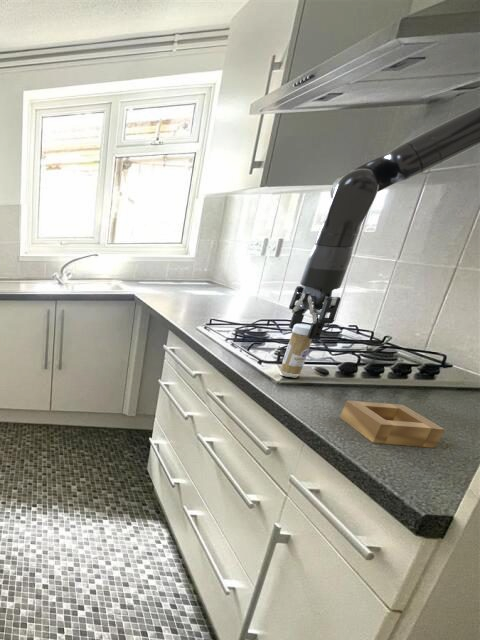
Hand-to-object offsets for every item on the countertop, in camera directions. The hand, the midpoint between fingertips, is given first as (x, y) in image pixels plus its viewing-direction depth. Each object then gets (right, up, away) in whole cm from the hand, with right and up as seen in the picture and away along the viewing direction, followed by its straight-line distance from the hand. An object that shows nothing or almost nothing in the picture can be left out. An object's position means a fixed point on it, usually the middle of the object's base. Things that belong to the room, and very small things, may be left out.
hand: (302, 333), depth 103 cm
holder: (-1, -22, -21) cm, 31 cm away
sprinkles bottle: (0, -11, +5) cm, 12 cm away
